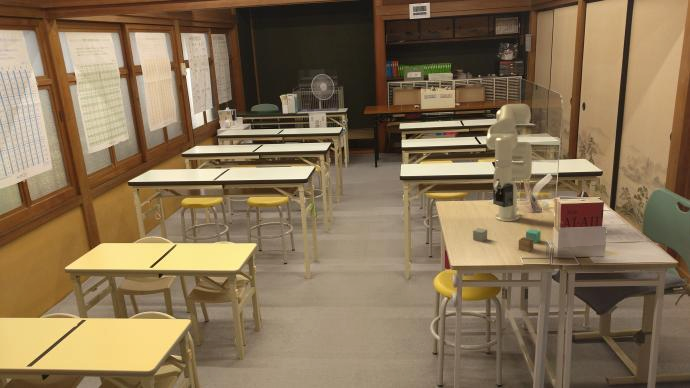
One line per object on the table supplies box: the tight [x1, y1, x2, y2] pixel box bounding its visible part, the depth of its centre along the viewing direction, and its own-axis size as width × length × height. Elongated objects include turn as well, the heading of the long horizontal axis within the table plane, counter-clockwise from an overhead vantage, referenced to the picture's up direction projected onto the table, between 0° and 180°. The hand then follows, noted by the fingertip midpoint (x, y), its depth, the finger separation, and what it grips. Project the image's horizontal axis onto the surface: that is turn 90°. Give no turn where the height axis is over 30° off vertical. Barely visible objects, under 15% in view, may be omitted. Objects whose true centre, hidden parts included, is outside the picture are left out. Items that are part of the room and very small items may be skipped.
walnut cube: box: [518, 236, 535, 253], centre depth 249 cm, size 5×5×5 cm
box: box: [492, 183, 513, 207], centre depth 253 cm, size 8×6×11 cm
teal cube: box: [525, 228, 541, 244], centre depth 259 cm, size 5×5×5 cm
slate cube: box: [472, 227, 488, 243], centre depth 265 cm, size 5×5×5 cm
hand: (503, 199), depth 254 cm, fingers closed on box, 7 cm apart
